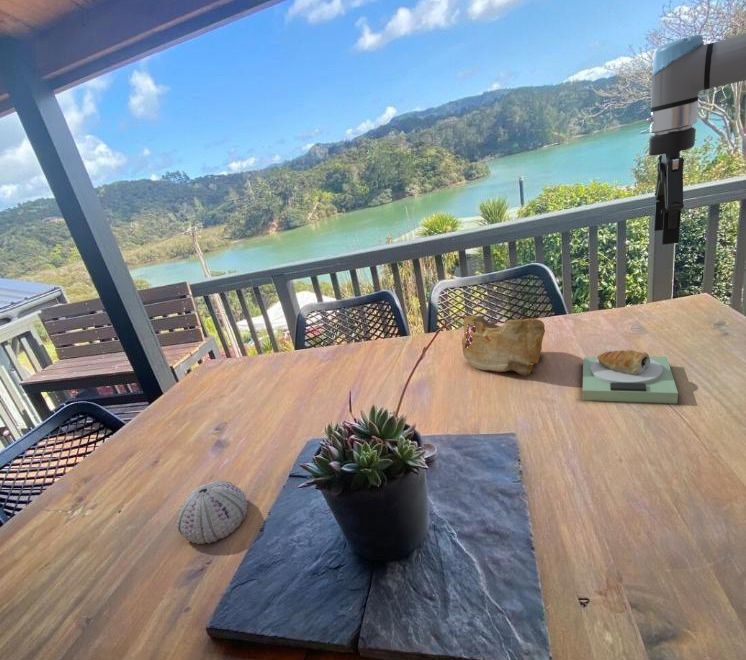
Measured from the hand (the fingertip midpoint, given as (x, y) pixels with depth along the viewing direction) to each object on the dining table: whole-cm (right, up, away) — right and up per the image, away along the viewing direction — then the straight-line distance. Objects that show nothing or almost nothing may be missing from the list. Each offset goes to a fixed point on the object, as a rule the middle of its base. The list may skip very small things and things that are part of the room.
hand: (665, 236), depth 96 cm
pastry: (-10, -29, -2) cm, 31 cm away
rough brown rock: (-26, -29, +18) cm, 43 cm away
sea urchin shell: (-95, -59, -12) cm, 113 cm away
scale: (-10, -33, -1) cm, 34 cm away
